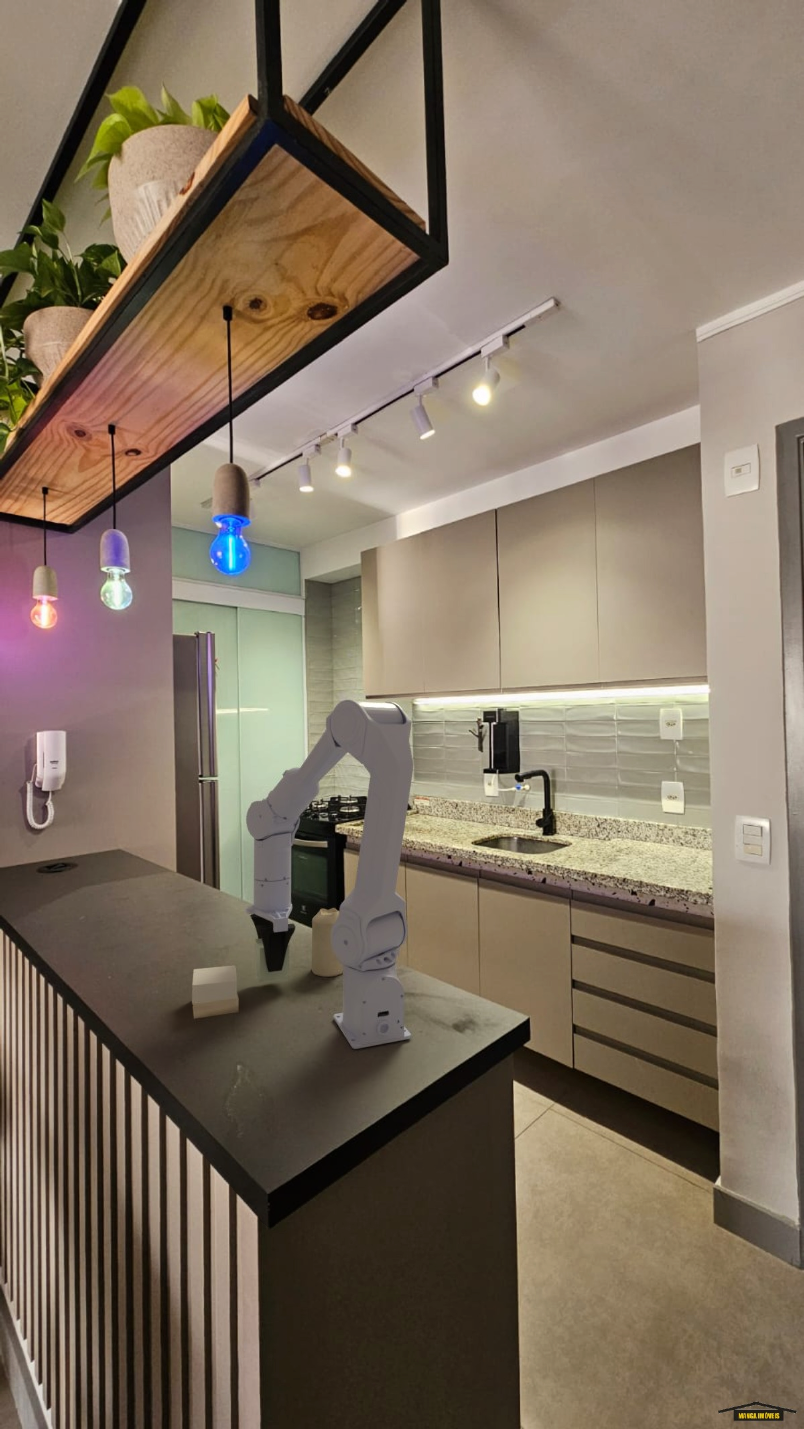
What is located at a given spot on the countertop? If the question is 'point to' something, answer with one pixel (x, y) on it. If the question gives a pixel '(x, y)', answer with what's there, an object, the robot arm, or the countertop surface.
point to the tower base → (215, 1008)
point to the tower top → (214, 984)
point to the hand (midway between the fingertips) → (271, 964)
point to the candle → (324, 944)
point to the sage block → (262, 968)
